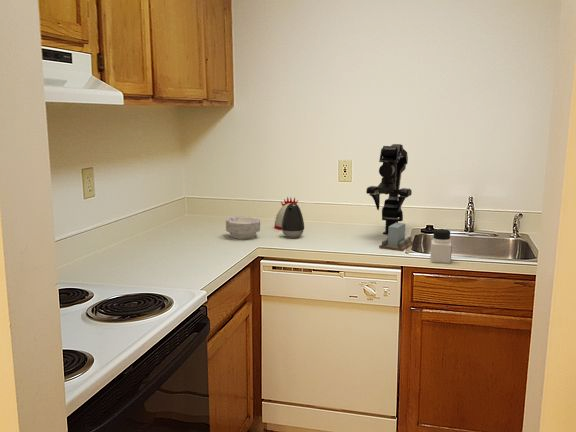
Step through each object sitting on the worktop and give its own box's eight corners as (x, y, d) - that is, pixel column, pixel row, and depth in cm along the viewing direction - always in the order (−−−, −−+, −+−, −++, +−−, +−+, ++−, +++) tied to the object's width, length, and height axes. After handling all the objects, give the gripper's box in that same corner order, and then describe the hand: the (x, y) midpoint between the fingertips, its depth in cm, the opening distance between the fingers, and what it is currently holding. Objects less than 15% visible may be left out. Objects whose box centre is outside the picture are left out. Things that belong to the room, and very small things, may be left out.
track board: (390, 241, 254) (390, 234, 253) (413, 244, 249) (413, 237, 248) (379, 248, 242) (379, 241, 241) (402, 251, 237) (403, 243, 236)
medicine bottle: (450, 263, 218) (452, 231, 216) (431, 262, 220) (432, 231, 218) (449, 258, 225) (451, 228, 223) (430, 257, 227) (432, 227, 224)
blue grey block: (395, 241, 250) (396, 222, 249) (404, 242, 249) (405, 223, 247) (387, 245, 242) (388, 226, 240) (397, 246, 240) (398, 227, 238)
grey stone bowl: (260, 240, 254) (260, 222, 253) (225, 240, 253) (225, 222, 252) (260, 233, 269) (260, 216, 268) (226, 233, 268) (226, 216, 267)
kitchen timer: (303, 231, 275) (303, 199, 272) (274, 230, 275) (274, 199, 272) (303, 225, 289) (303, 194, 286) (275, 224, 289) (275, 194, 286)
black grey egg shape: (277, 238, 259) (277, 204, 256) (286, 233, 269) (286, 200, 266) (299, 240, 255) (299, 205, 253) (307, 235, 265) (307, 202, 262)
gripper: (362, 175, 251) (361, 211, 254) (404, 178, 243) (403, 215, 245) (371, 173, 261) (370, 208, 264) (412, 175, 252) (411, 211, 255)
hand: (388, 210), depth 257 cm, fingers open, 9 cm apart
